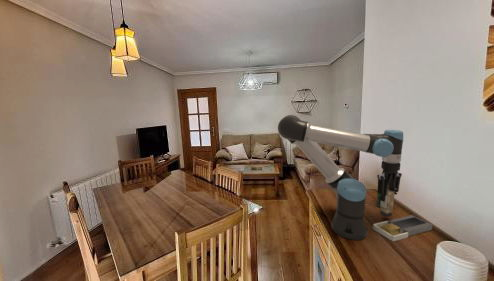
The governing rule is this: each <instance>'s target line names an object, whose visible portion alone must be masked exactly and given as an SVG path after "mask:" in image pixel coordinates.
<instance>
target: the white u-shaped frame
mask: <svg viewBox="0 0 494 281" xmlns="http://www.w3.org/2000/svg"><path fill="white" fill-rule="evenodd" d="M387 224H388V220H385V221H381V222H376V223H373V224H372V227H371V229H372V230H374V231H375V232H377V233H378V234H380V235H382V236H383V237H385V238H387V239H388V240H389V241H391V242H396V241H401V240H403V239H407V238H408V237H409V236H408V233H407V232H406V233H402V234H401V233H400V234H398V235H394V236H392V235H390V234H389V233H387V232H386V231H384V230H382V226H383V225H387Z"/></svg>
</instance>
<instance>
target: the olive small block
mask: <svg viewBox="0 0 494 281" xmlns="http://www.w3.org/2000/svg"><path fill="white" fill-rule="evenodd" d="M387 225H389V226H391V227H392V228H394V229H396V230H395V235H398V234H401V233H400V229H401V228H400V227H398V226H396V225H394V224H392V223H391V224H387Z"/></svg>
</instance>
